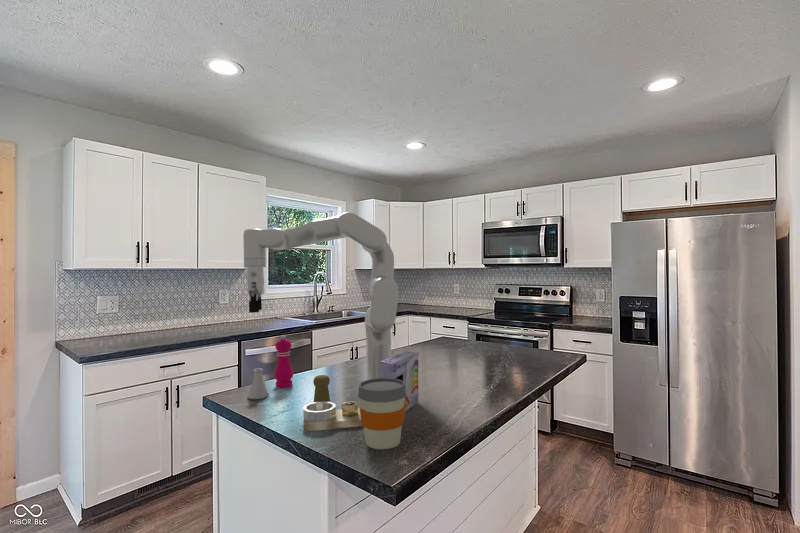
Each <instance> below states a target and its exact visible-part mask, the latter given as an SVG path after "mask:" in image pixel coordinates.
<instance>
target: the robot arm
mask: <svg viewBox="0 0 800 533" xmlns="http://www.w3.org/2000/svg"><path fill="white" fill-rule="evenodd" d="M242 235H243V268H244V269H245V268H246V270H247V271H246V272H247V274H246V276H247V277H246V278H247V279H246V280H247V282H246V283H247V295H249V301H248V313H252V314H253V313H260V311H262V309H263V308H262V306H263V304H262V302H263V301H262V296H263V295H264V294H265V275H264V268H266V267H267V250H266V249H272V250H274V251H283V250H288V249H292V248H298V247H303V246H307V245H315V244H319V243H324V242H329V241H334V240H335V241H336V240H340V239H345V238H349V239H351V240H353V241H355V242H356V243H357V244H359V245H361V247H362V250H364V251H365V252H367V253H368V254H369V255H370V257H371V264H372V265H371V275H370V276H371V277H370V283H369V289H368V290H369V294H370V296H371V304H370V306H369V307H368V308H367V309H366V312H365V315H364V326H365V346H366V347H365V349H366V350H365V351H366V357H365V358H366V380H369V379H375V378H380V361H383V360H385V359H388V358H390V357H392V334H391V330H392V328H393V327H394V325H395V322H396V319H397V309H398V308H397V307H398V300H399V288H398V284H397V282H396V281H395V280H394V275H395V274H394V273H395V256H394V251H393V250H392V248H391V246H390V244H389V243H388V242H387V241H388V240H387V236H386V233H385V232H384V231H383V230H382V229H380V228H379V227H377V226H376V225H374V224H372V223H371V222H369V221H367V220H365V219H364V218H363V217H361V216H360V215H357V214H356V213H353V212H351V211H346V212H343V213H341V214H340V215H336V216H331V217H327V218H326V217H325V218H319V219H313V220H310V221H308V222H306V223H304V224H302V225H300V226H297V227H292V228H286V229H282V228H277V227H275V228H274V227H273V228H272V227H271V228H266V229H265V228H264V229H260V228H247V229H245V230H244V231H243V234H242Z"/></svg>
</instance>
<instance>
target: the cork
mask: <svg viewBox="0 0 800 533" xmlns="http://www.w3.org/2000/svg"><path fill="white" fill-rule="evenodd" d="M330 381H331V379H330V377H329V375H325V374H321V375H320V374H319V375H316V376H314V378H313V381H312V383H313V386H314V396H313V402H322V401H325V402H331V396H330V389H329V385H330Z"/></svg>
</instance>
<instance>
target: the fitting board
mask: <svg viewBox="0 0 800 533" xmlns="http://www.w3.org/2000/svg"><path fill="white" fill-rule="evenodd" d="M302 425H303V428H302V431H303V433H305V432H317V431H326V430H336V429H345V428H346V429H347V428H353V427H354V428H355V427H356V428H357V427H363V426H362V423H361V416H360V409H359V407H358V415H356V416H353V417H345V416H342V408H340V409H339V408H337V409H336V417H335V418H334V419H332V420H330V421H326V422H320V423H311V422H307V421H305V420H304V419H303V423H302Z"/></svg>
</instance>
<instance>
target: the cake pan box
mask: <svg viewBox="0 0 800 533" xmlns="http://www.w3.org/2000/svg"><path fill="white" fill-rule="evenodd" d="M380 378H393V379H399V380H402V381H403V382H404V383H405V389H406V396H405V400H404V403H405V413H406V412H407V411H408V410H410V409H411V408H413V407H414V406H415V405H417V404H418V403H419V351H416V350H412V349H411V350H409V349H406V350H405V351H402V352H400V353H397V354H394V355H391V357H390V358H388V359H385V360H383V361H380Z"/></svg>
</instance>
